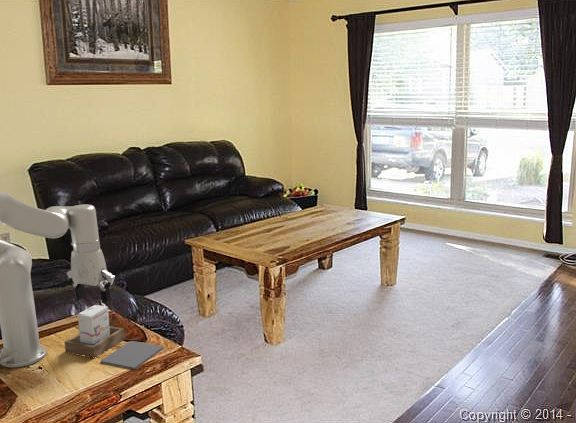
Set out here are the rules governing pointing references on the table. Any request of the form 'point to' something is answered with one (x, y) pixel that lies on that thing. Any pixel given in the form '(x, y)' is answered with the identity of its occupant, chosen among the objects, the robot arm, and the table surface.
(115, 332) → the frame
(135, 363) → the rubber mat
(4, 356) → the robot arm
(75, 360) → the table surface
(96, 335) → the ink box
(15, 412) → the table surface
